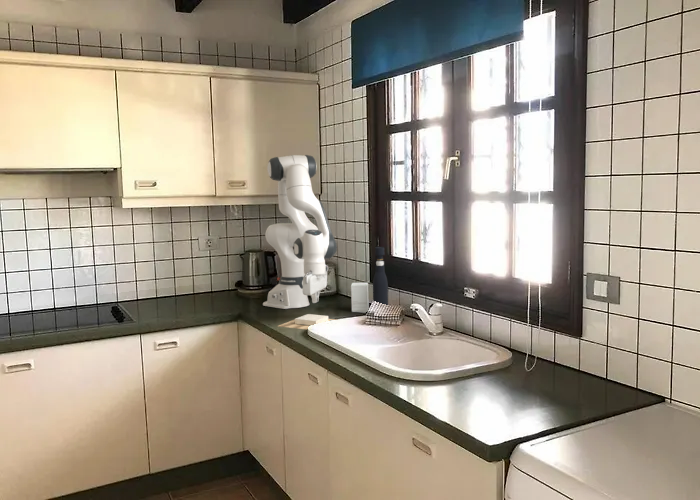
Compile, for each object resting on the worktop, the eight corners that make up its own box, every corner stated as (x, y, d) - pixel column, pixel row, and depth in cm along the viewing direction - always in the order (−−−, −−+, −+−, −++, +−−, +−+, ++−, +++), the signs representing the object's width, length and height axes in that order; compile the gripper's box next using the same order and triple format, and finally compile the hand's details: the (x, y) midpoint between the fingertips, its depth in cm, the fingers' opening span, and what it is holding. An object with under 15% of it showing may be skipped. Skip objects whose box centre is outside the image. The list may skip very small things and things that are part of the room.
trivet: (277, 327, 262) (276, 326, 262) (303, 317, 280) (303, 316, 280) (319, 332, 253) (319, 330, 253) (343, 321, 270) (343, 320, 270)
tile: (307, 319, 274) (295, 324, 265) (307, 314, 273) (294, 318, 265) (328, 321, 269) (316, 326, 260) (328, 316, 269) (315, 320, 260)
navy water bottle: (390, 315, 281) (389, 246, 277) (384, 318, 275) (383, 248, 271) (376, 314, 283) (375, 246, 280) (371, 317, 277) (369, 247, 274)
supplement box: (369, 309, 294) (368, 282, 292) (367, 313, 286) (367, 285, 285) (352, 309, 294) (352, 282, 293) (351, 313, 287) (350, 285, 286)
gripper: (313, 273, 257) (314, 307, 258) (329, 266, 276) (330, 297, 278) (298, 272, 258) (299, 306, 260) (315, 265, 278) (316, 297, 279)
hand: (315, 302), depth 269 cm, fingers closed
